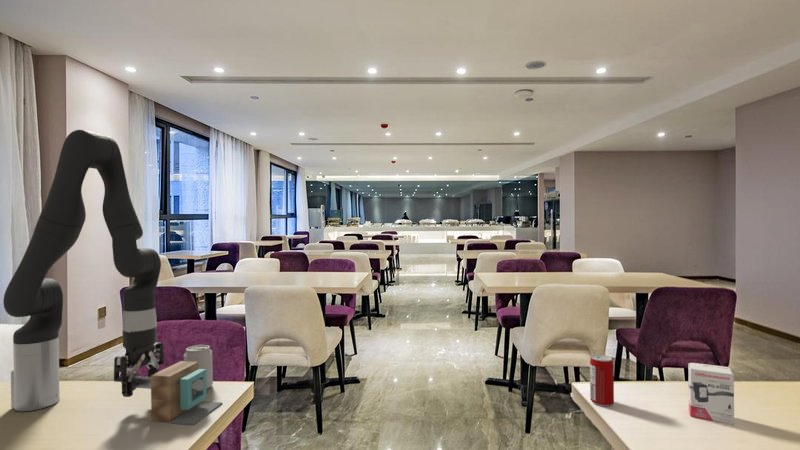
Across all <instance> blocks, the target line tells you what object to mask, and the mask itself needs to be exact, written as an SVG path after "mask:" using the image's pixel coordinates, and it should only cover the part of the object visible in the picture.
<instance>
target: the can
mask: <svg viewBox="0 0 800 450" xmlns="http://www.w3.org/2000/svg"><path fill="white" fill-rule="evenodd" d="M210 347H211V346H210V345H207V344H197V345H191V346H189V347H187V348H186V349H185V351H186V352H185V353H183V361H190V362H198V369H206V391H208V390H209V389H210V388H211V387H212V385H213V383H214V382H213V381H214V379H213V373H214V372H213V350H212V349H210Z"/></svg>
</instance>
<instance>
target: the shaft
mask: <svg viewBox="0 0 800 450" xmlns="http://www.w3.org/2000/svg"><path fill="white" fill-rule="evenodd" d="M128 375H129V373H128V374H127V377H128ZM132 381H133V392H134V391H136V390H137V389H148V390H149V389H150V390H151V377H148V376H142V375H141V376H140V374H139V373H138V372H137V373H135V374H134V376H133V379H132ZM191 384H192V391H199V392H200V391H202V390H203V388H204V380H200V379H198V380H196V381H194V382H193V383H191Z"/></svg>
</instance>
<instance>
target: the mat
mask: <svg viewBox="0 0 800 450" xmlns="http://www.w3.org/2000/svg"><path fill="white" fill-rule="evenodd" d="M222 405H223V402H221V401H218V402H217V401H205V400H202V401H201V402H199V403H198V404H197V405H195V406H194V407H192V408H191V409H189V410H188V411H186V412H185V413H183V414H182V415H180V416H179V417H177V418H176V419H174V420H173V421H171V422H170V424H173V425H174V424H175V425H187V426H194V425H196V424H197V423H198V422H200V421H201V420H202V419H204V418H205V417H208V415H209V414H211V413H212V412H213V411H215V410H217V409H218V408H219V407H221V406H222Z"/></svg>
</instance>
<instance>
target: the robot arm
mask: <svg viewBox="0 0 800 450" xmlns="http://www.w3.org/2000/svg"><path fill="white" fill-rule="evenodd" d="M89 169H94V170H96V171H97V172H98V174H99V175H100V177H101V180H102V182H103V187H104V193H103V194H104V195H103V201H102V215H103V216H102V217H103V218H104V219H103V220H104V221H105V225H106V227H107V229H108V232H109V235H110V237H111V244H112V246H111V247H112V258H113V263H114V267H115V269H116V270H117V271H118V273H119V274H120V275H121V276H123V277H125V278H133V282H132V283H131V284H130V285H129V286H128V287H125V289H124V290H123V293H122V300H123V301H122V304H123V305H122V307H123V308H122V312H123V313H122V320H121V322H122V324H121V325H122V330H121V332H122V334H121V335H122V347H123V348H124V349H125V353H124V355H122V356H115V357H114V359H113V360H114V362H113V381H114V382H115V383H117V382H118V383H119V382H120V383H121V394H122V396H123V397H124V398H130V397H132V396H133V394H134V391H133V381H132V379H133V376H134V374H135V373H138V372H139V369H140V368H142V367H144V366H146V367H147V377H151V375H153V374H155V373H157V372H159V370H158V369H159V368H160V366H161V365H163V364H164V363H165V358H164V357H165V356H164V343H163V342H157V341H158V335H157V332H158V331H157V330H158V329H157V328H158V327H157V326H158V325H157V323H158V322H157V311H156V293H155V292H156V289H157V285H158V282H159V278H160V274H161V267H162V263H161V262H162V261H161V258H160V255H159V253H158V252H157V251H156V250H155V249H153V248H150V247H149V248H148V247H143V248H138V245H137V241H138V240H139V239H141V238H142V237H143V235H144V234H143V233H144V232H143V231H144V230H143V228H142V226H141V222H140V220H139V218H138V214H137V213H136V210H135V207H134V205H133V201H132V199H131V195H130V191H129V187H128V181H127V177H126V172H125V167H124V162H123V158H122V153H121V150H120V147H119V145H118V143H117V141H116V140H115V139H114V138H112V137H111V136H110V135H107V134H102V133H98V132H95V131H89V130H85V129H76V130H73V131H71V132H70V133H69V134H68V135H67V136H66V138H65V140H64V141H63V144H62V147H61V150H60V154H59V157H58V162H57V166H56V170H55V173H54V177H53V179H52V184H51V186H50V190H49V192H48V194H47V198H46V200H45V202H44V205H43V207H42V210H41V212H40V214H39V217H38V218H37V222H36V225H35V227H34V231H33V233H32V236H31V238H30V241H29V243H28V245H27V246H26V247H27V248H26V250H25V252H24V255H23V257H22V259H21V261H20V263H19V264H18V267H17V268H16V271H15V272H14V274H13V276H12V278H11V279H10V281H9V283H8V285H7V287H6V290H5V292H4V294H3V299H2V301H3V308H4V310H5V312H6V313H7V314H8V315H9V316H11V317H14V318H25V317H29V318H28V320H27V322H25V324H24V325H22V326H21V327H20V328H18V329H16V330H15V331H14V333H13V337H12V341H13V342H12V343H13V345H12V346H13V350H12V352H13V370H12V371H11V372H10V403H11V404H10V405H11V406H10V407H11V409H14V410H15V411H16V412H32V411H37V410H41V409H44V408H48V407H51V406H53V405H54V404H57V403H58V402H60V350H59V349H60V347H59V346H60V344H59V335H60V334H59V333H60V329H61V327H62V323H63V311H64V310H63V309H64V308H63V307H64V293H63V288H62V286H61V285H60V283H59V282H58V281H57V280H56V279H54V278H51V277H46V276H47V274H48V272H49V271H50V270H51V268H52V267H53V266H54V265H55V264H56V263H57V262H58V261H59V260H60V259H61V258H62V257H63V256H64V255H65V254H66V253H67V252H68V251H70V250H71V248H72V247H73V246H74V245H75V243H76V242H77V240H78V239H79V237H80V235H81V232H82V230H83V227H84V224H85V222H86V216H87V215H86V214H87V213H86V207H85V203H84V199H83V194H82V187H83V183H84V180H85V177H86V175H87V173H88V171H89ZM128 374H129V375H128ZM127 375H128V377H127Z"/></svg>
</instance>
